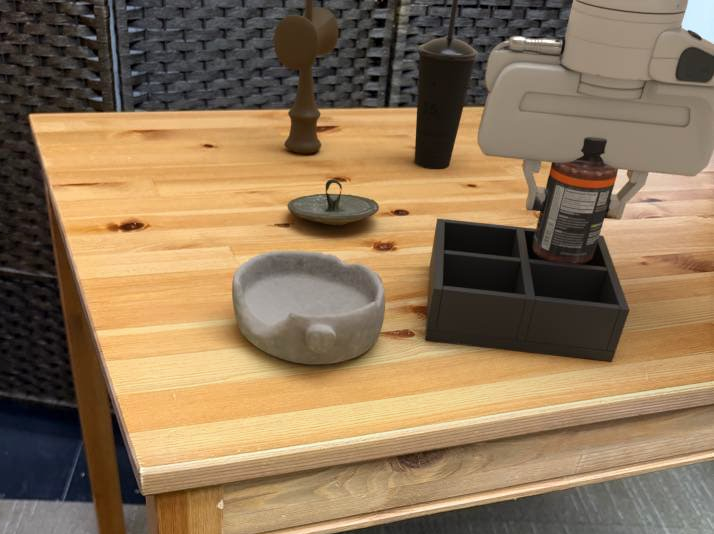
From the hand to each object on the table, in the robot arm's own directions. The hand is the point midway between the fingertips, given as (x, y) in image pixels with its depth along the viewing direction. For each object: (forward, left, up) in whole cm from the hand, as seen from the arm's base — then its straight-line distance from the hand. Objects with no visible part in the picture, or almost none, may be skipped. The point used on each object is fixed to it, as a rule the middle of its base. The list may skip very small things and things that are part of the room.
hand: (572, 213), depth 77 cm
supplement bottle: (0, 0, -4) cm, 4 cm away
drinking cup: (+13, -39, -8) cm, 42 cm away
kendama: (+31, -39, -8) cm, 50 cm away
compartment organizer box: (+4, +4, -8) cm, 10 cm away
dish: (+23, +13, -8) cm, 28 cm away
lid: (+24, -14, -8) cm, 29 cm away
